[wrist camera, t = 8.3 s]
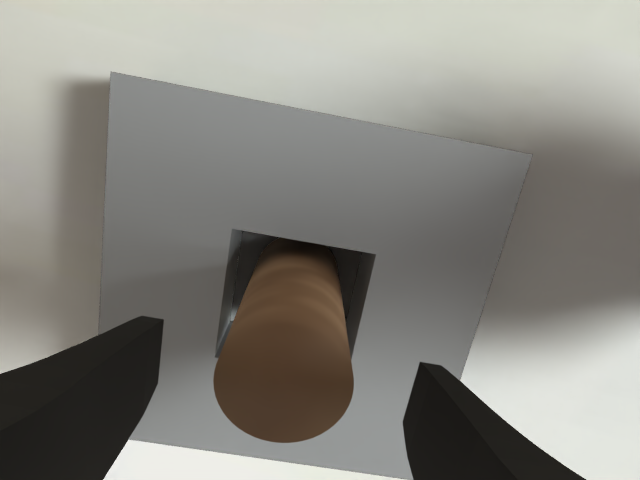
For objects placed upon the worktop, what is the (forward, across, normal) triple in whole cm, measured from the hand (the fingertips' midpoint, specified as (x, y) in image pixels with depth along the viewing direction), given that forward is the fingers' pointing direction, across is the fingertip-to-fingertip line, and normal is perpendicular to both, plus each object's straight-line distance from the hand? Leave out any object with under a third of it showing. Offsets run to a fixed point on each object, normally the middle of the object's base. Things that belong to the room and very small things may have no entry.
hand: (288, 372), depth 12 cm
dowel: (+7, 0, 0) cm, 7 cm away
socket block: (+7, 0, 0) cm, 7 cm away
